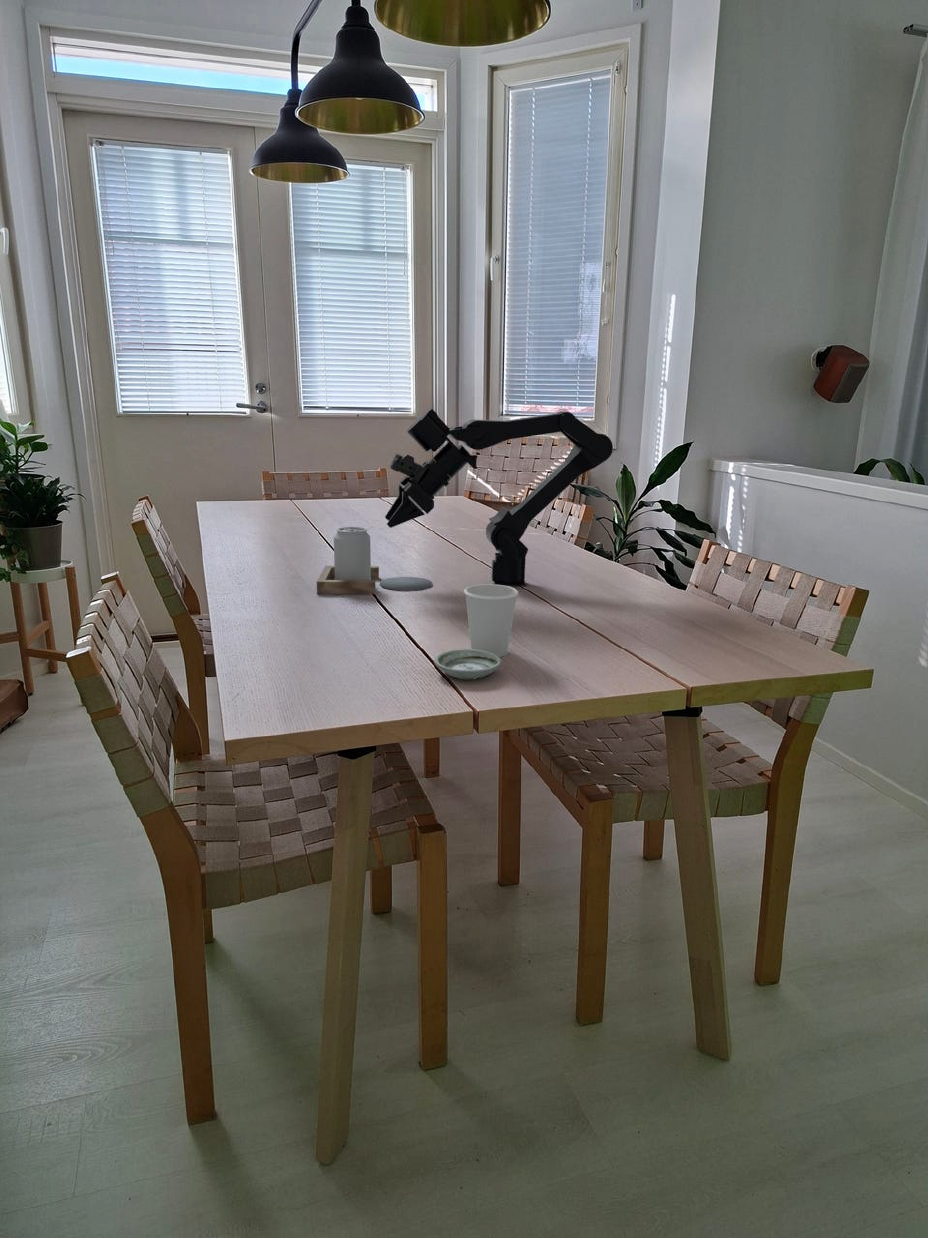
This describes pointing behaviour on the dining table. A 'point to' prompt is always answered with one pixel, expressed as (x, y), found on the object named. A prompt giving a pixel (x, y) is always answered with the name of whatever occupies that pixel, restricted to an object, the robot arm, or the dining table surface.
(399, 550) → the dining table surface
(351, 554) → the can
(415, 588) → the pad
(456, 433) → the robot arm
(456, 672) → the saucer
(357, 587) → the wooden frame
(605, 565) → the dining table surface
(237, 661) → the dining table surface
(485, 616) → the dixie cup
